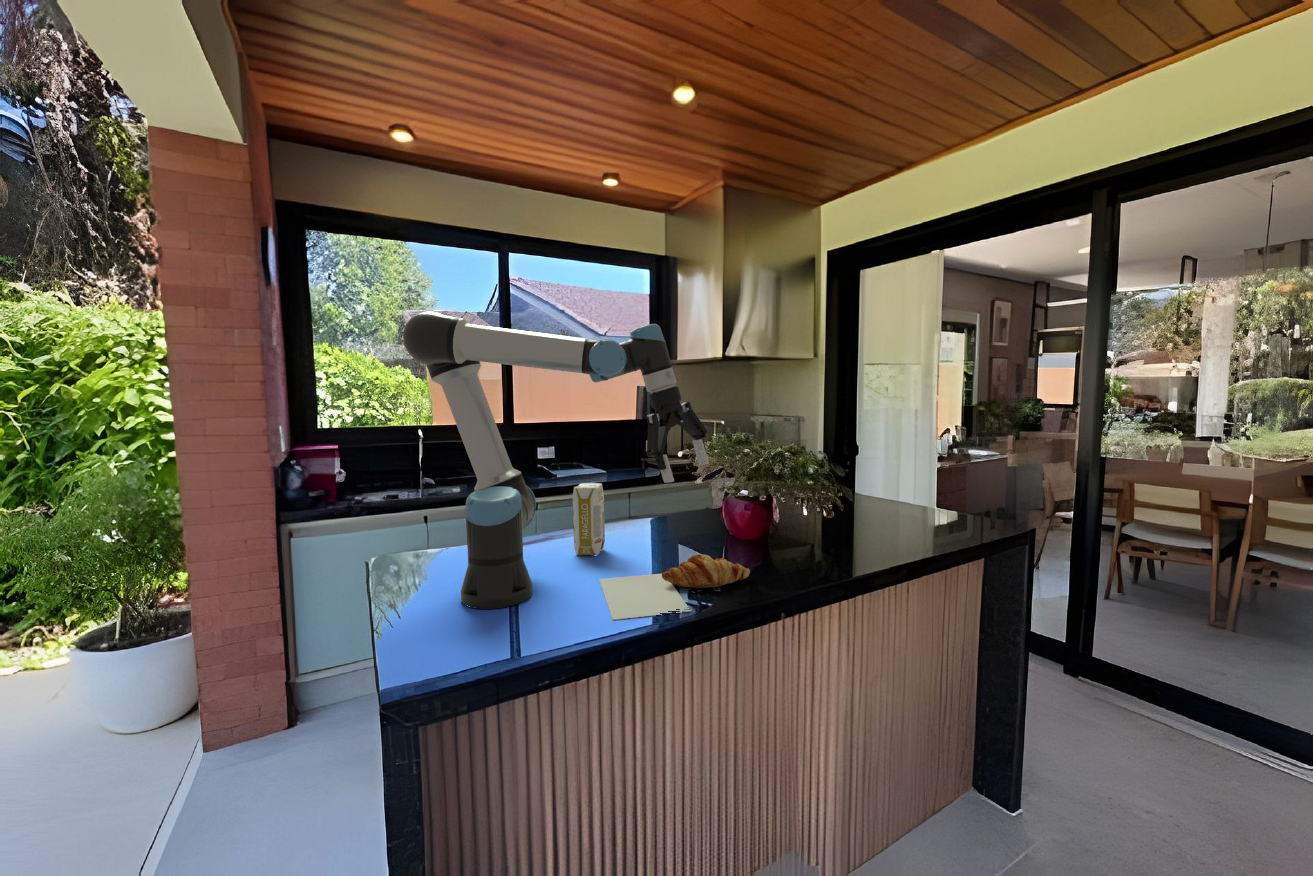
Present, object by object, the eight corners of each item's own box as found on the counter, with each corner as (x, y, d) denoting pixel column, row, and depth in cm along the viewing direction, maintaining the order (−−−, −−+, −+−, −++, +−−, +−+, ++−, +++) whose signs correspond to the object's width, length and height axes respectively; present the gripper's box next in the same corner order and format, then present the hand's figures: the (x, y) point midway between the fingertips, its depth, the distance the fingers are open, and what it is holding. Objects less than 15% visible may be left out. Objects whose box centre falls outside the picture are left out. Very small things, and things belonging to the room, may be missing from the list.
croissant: (744, 589, 134) (739, 556, 137) (760, 582, 125) (754, 547, 128) (659, 595, 129) (655, 560, 132) (669, 588, 120) (665, 551, 123)
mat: (612, 620, 109) (612, 619, 109) (599, 579, 132) (599, 579, 132) (691, 612, 112) (691, 611, 112) (664, 574, 135) (664, 573, 135)
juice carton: (606, 548, 158) (605, 482, 156) (599, 557, 150) (597, 488, 148) (581, 547, 159) (579, 482, 157) (572, 556, 151) (570, 487, 149)
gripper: (637, 397, 122) (664, 488, 124) (705, 375, 139) (728, 456, 141) (615, 403, 127) (642, 491, 129) (683, 382, 144) (706, 459, 146)
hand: (687, 473), depth 135 cm, fingers open, 13 cm apart
